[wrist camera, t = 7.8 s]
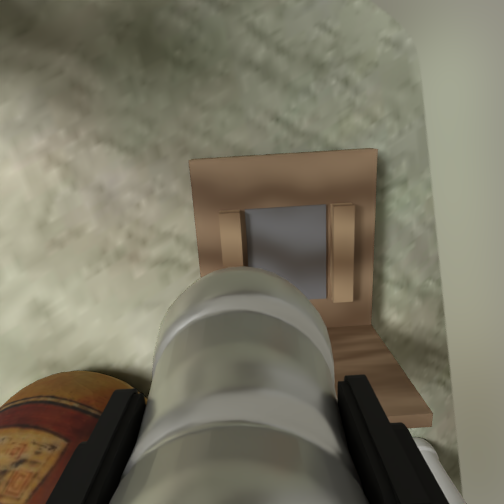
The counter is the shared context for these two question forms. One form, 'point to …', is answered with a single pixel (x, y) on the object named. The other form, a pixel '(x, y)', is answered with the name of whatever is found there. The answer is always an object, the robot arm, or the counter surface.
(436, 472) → the bottle
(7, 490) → the ceramic pitcher
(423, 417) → the display stand
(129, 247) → the counter surface
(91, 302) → the counter surface
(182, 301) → the plastic bottle
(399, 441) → the robot arm
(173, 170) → the counter surface
